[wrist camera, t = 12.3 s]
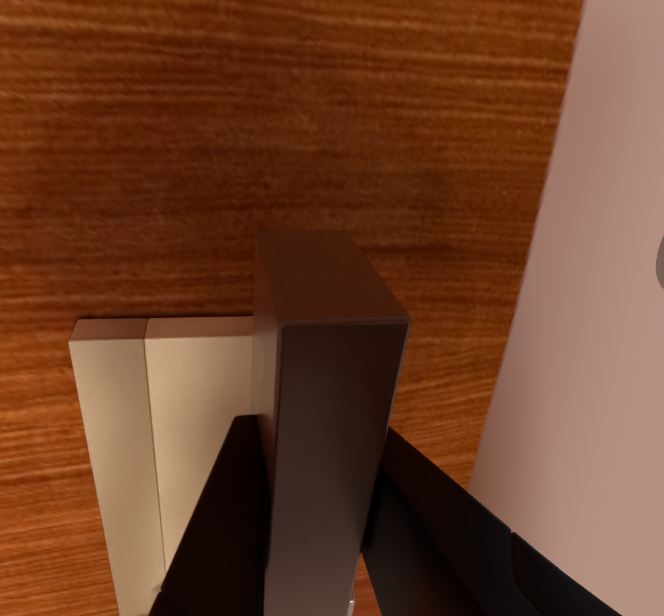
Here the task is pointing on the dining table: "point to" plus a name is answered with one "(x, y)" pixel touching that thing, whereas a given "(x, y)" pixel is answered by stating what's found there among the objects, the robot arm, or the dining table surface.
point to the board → (155, 431)
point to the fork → (320, 409)
